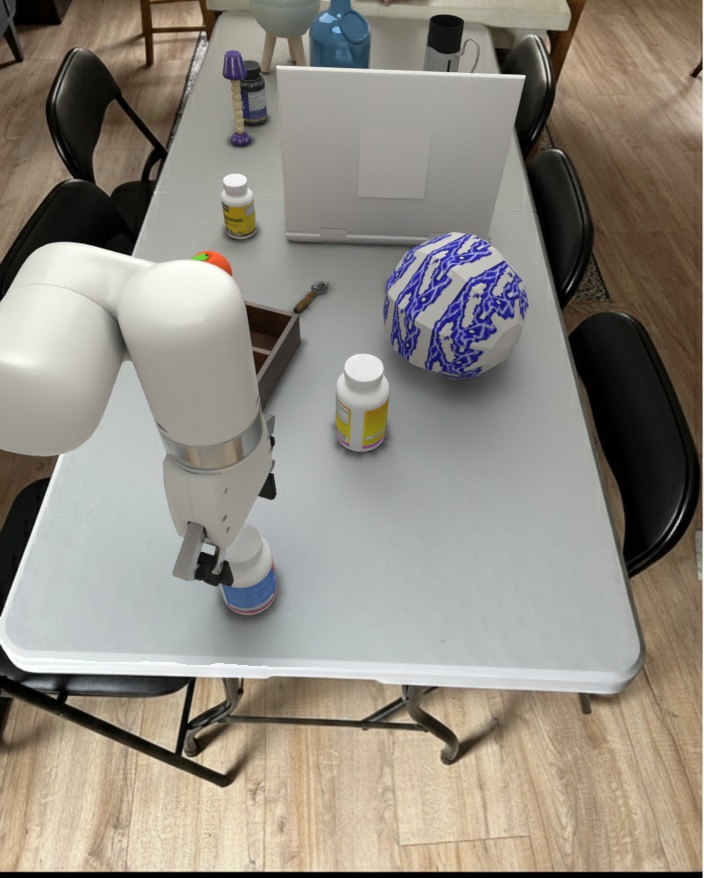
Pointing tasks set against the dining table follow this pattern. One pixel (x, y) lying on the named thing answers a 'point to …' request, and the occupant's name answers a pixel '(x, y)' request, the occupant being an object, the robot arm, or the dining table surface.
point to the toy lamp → (236, 93)
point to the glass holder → (445, 44)
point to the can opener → (310, 296)
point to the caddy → (271, 344)
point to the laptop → (392, 152)
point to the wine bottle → (340, 38)
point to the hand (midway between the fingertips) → (240, 534)
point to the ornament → (454, 306)
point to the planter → (284, 25)
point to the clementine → (214, 260)
